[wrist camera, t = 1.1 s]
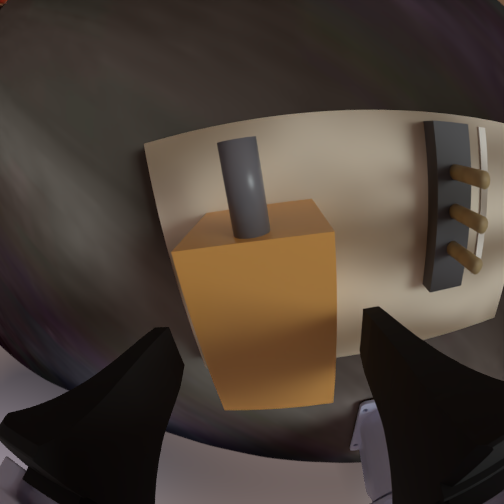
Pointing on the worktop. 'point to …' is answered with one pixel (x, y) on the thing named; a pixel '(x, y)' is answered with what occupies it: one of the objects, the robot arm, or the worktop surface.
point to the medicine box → (2, 2)
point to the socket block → (262, 291)
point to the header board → (367, 206)
